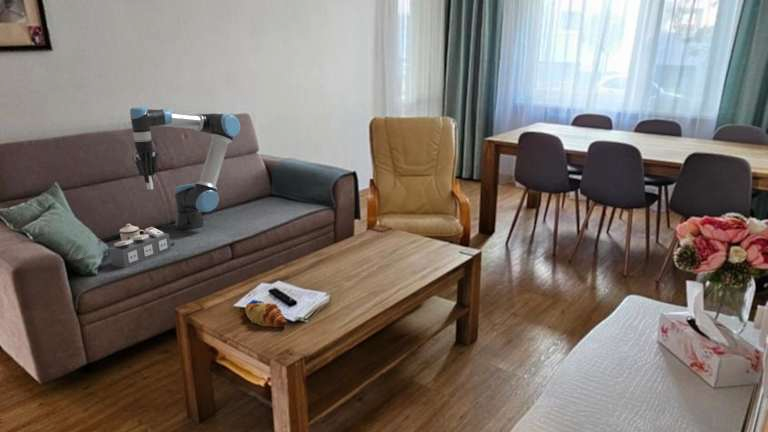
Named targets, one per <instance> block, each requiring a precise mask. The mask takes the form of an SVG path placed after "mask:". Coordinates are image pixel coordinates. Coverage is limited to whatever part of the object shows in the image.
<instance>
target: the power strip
mask: <svg viewBox="0 0 768 432" xmlns="http://www.w3.org/2000/svg"><path fill="white" fill-rule="evenodd" d="M147 234H148V235H149V237H148V238H146V239H143V240H133V243H130V244H127V245H122V246H116V247H115V246H112V247H109V248H108V251H109V257H110V263H111V266H114V267H119V268H122V269H127V268H129V267H132V266H134V265H137V264H139V263H142V262H144V261H147V260H149V259H152V258H154V257H156V256H159V255H163V254H164V253H166V252H169V251H171V250H172V246H175V245H176V243H175V242H174V241H173V242H171V237H170V234H169V233H164V235H162V236H160V237H155V236H153V235H151V234H149V233H147Z"/></svg>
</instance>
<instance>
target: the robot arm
mask: <svg viewBox="0 0 768 432" xmlns="http://www.w3.org/2000/svg"><path fill="white" fill-rule="evenodd" d="M129 114H130V121H131V126H132V127H131V128H132V134H133V140H134V141H135V142H134V147H135V151H136V155H135V156H132V160H133V161H134V163H135V165H136V168H137V171H138V173H139V176H142V177H144V183H145V184H146V189H147V190H154V184H153V182H154V176H155V174H156V173H157V159H158V155H159V154H158V153H157V152H154V150H153V141H152V134H151V133H152V132H151V128H152V127H158V126H159V127H169V128H179V129H188V130H189V129H190V130H194V131H195V132H199V133H200V132H201V133H205V134H209V135H210V137H211V142H210V146H209V150H208V153H207V154H206V155H207V156H206V158H205V162H204V164H203V168H202V171H201V174H200V178H199V181H197V182H195V183H186V184H180V185H178V186H175V187H174V196H175V203H176V204H175V206H176V211H177V214H176V219H175V228H176V229H178V230H192V229H197V228H200V227H201V228H202V227H203V226H204V225H205V223H206V221H205V219H204V216H203V214H202V212H205V213H206V212H207V213H208V212H211V211H214V209H216V208H217V206H218V205H219V201H220V197H219V194H218V188H217V184H218V183H217V182H218V179H219V176H220V172H221V169H222V165H223V163H224V160H225V155H226V152H227V149H228V145H229V144H230V143H232V142H233V139H234V137H236V136H238V135H239V134H240V131H241V123H240V121H239V119H238V117H236V116H235V115H234V114H233V115H232V114H228V113H196V114H190V113H189V114H188V113H180V112H172V111H171V110H169V109H168V108H166V109H165V108H162V109H150V108H149V109H148V108H147V107H146V106H139V107H137V106H136V107H132V108H130V109H129Z"/></svg>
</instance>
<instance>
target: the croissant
mask: <svg viewBox="0 0 768 432" xmlns="http://www.w3.org/2000/svg"><path fill="white" fill-rule="evenodd" d="M244 310H245V314H246V316H247V318H248V319H249V320H250V321H251V323H252V324H257V325H258V326H261V327H272V328H282V327H284V326H286V325H287V323H288V320H287V319H286V317H285V316H284V314H283V313H282V310H281V309H280V308H279V307H278V305H277V304H276V303H274V302H266V303H265V302H258V303H249V304H248V303H247V304H246V305H245V307H244Z"/></svg>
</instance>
